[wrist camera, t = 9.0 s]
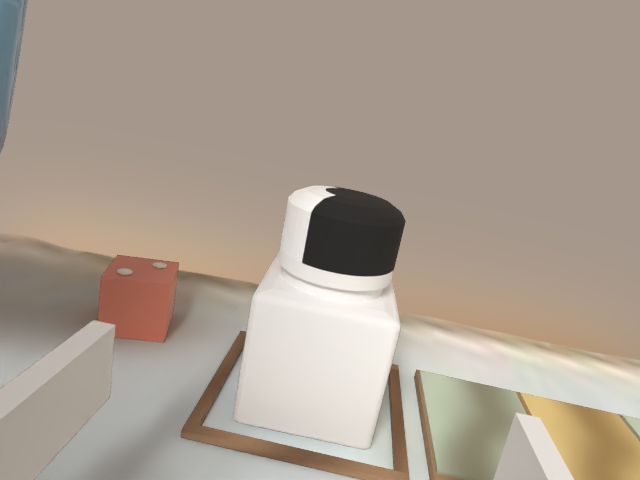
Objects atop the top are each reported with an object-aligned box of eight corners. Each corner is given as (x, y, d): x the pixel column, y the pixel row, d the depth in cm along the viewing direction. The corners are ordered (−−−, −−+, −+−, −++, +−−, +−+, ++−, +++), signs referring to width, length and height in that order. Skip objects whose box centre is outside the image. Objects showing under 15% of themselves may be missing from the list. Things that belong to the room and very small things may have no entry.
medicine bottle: (368, 378, 32) (412, 195, 28) (370, 454, 25) (428, 224, 21) (258, 355, 32) (290, 171, 29) (230, 424, 25) (267, 191, 22)
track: (431, 489, 23) (435, 475, 23) (414, 377, 33) (417, 367, 32) (864, 590, 22) (873, 576, 22) (715, 444, 32) (720, 433, 31)
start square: (180, 437, 23) (181, 429, 23) (240, 335, 34) (240, 330, 34) (407, 490, 23) (409, 483, 23) (396, 370, 33) (398, 365, 33)
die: (96, 337, 30) (101, 275, 29) (113, 309, 34) (117, 253, 33) (163, 343, 31) (170, 283, 30) (172, 315, 35) (179, 261, 34)
